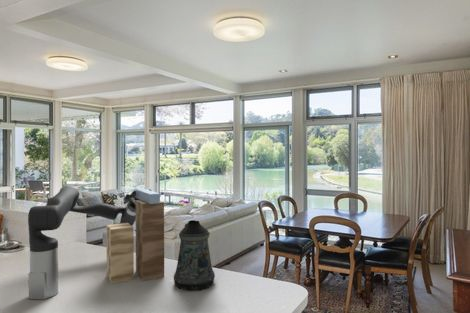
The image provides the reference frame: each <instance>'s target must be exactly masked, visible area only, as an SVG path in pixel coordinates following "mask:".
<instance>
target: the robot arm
mask: <svg viewBox="0 0 470 313" xmlns="http://www.w3.org/2000/svg"><path fill="white" fill-rule="evenodd" d="M149 190H150V191H152V189H149ZM135 196H136V190H135V189H134V190H133V191H131V193H130V194H129V193H127V194H125V196H124V197H123V200H122V201H123V204H124V205H126V206H125V207H121V206H115V205H112V204H108V203H104V202H100V203H99V202H97V203H94V204H89V205H78V204H77V202H78V200H79V197H80V191H79V190H78V189H77V188H75V187H73V186H63V187H60V189H59V191H58V192H57V193H56V194H55V195H54V196H52V197H51V198H50V199H49V200H48V201H47V203H46V205H36V206H34V205H33V206H32V207H30V208H29V211H28V213H27V226H28V236H29V237H28V242H29V272H28V274H27V275H28V300H46V299H48V298H51V297H53V296H56V295H57V294H58V293H59V242H58V239H56V238H54V237H50V236H47V235H45V234H44V233H42V232H43V231H45V232H46V231H54V230H57V229H60V226H61V225H62V223H63V221H64V219H65V217H66V215H67V214H68V213H69V212H73V213H79V214H86V215H91V216H97V217H101V218H105V219H108V220H111V221H114V220H116V219H117V218H118V216H119V214H121V217H120V220H119V224H121V223H129V224H130V225H131V226H133V225H134V224H135V223H136V209H135V200H140V199H138V198H135ZM76 204H77V205H76ZM133 227H134V226H133Z"/></svg>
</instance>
